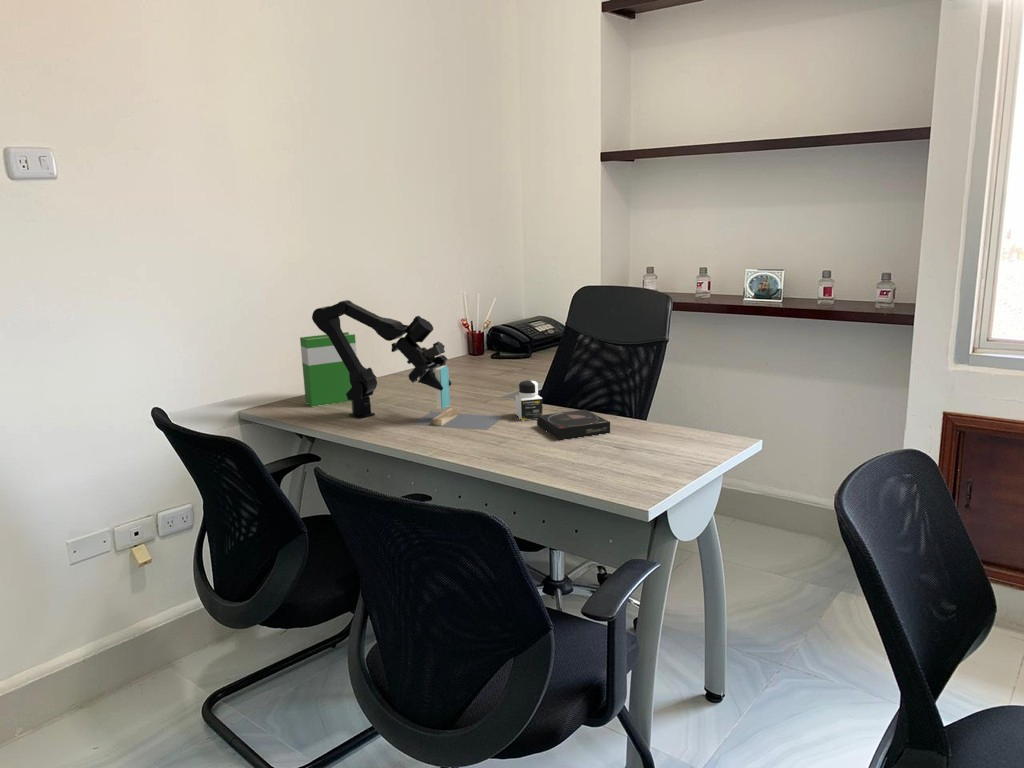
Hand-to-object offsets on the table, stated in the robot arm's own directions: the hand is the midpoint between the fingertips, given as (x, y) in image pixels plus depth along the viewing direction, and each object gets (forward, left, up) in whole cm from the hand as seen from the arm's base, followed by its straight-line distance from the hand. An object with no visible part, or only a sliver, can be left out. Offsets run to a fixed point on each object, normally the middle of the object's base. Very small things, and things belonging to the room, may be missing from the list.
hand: (446, 387), depth 245 cm
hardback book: (-54, -8, -11) cm, 55 cm away
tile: (-1, -1, 0) cm, 1 cm away
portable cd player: (+37, +18, -12) cm, 43 cm away
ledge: (0, 0, -11) cm, 11 cm away
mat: (+3, +2, -11) cm, 12 cm away
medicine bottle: (+17, +20, -11) cm, 29 cm away
